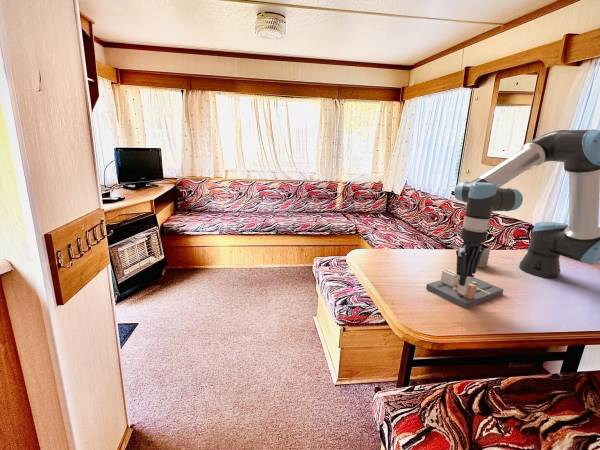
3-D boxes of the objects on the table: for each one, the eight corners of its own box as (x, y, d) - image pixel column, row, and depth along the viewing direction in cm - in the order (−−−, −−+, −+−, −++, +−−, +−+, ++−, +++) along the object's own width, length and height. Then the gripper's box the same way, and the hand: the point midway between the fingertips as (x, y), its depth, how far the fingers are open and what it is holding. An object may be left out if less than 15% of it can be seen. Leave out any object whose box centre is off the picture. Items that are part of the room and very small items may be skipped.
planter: (490, 269, 146) (494, 249, 143) (464, 266, 148) (468, 247, 145) (482, 261, 156) (486, 242, 153) (458, 258, 158) (462, 240, 155)
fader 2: (461, 291, 117) (463, 279, 116) (474, 297, 113) (476, 285, 112) (456, 292, 116) (458, 281, 115) (469, 299, 112) (471, 287, 110)
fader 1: (445, 280, 126) (447, 269, 125) (456, 285, 122) (459, 274, 121) (440, 281, 125) (442, 270, 124) (452, 286, 121) (454, 275, 120)
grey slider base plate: (463, 277, 135) (464, 272, 134) (502, 294, 122) (504, 287, 121) (426, 288, 123) (427, 282, 122) (464, 308, 110) (466, 301, 109)
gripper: (475, 224, 113) (463, 285, 119) (452, 228, 106) (441, 292, 113) (496, 230, 107) (482, 293, 113) (474, 234, 100) (460, 301, 106)
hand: (462, 292), depth 113 cm, fingers closed
